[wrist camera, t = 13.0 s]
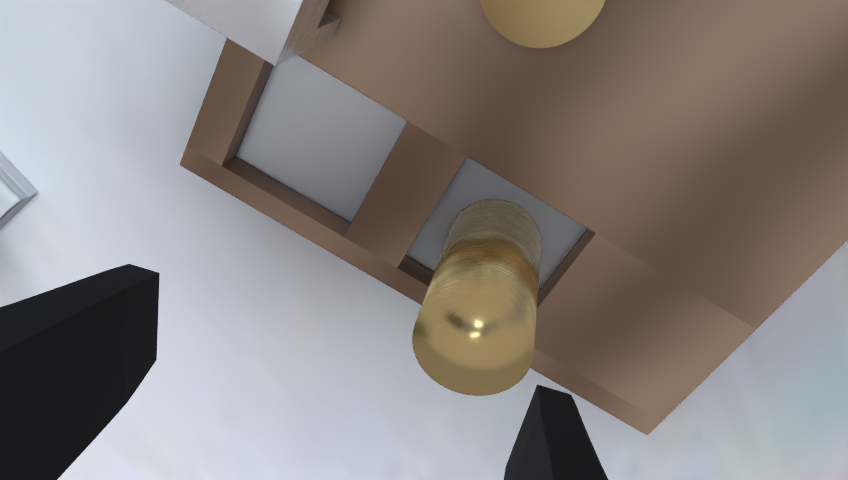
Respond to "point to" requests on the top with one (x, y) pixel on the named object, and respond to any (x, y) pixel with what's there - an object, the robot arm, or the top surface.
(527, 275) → the pin
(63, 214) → the top surface
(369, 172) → the top surface
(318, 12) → the housing
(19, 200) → the hard drive
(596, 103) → the board
